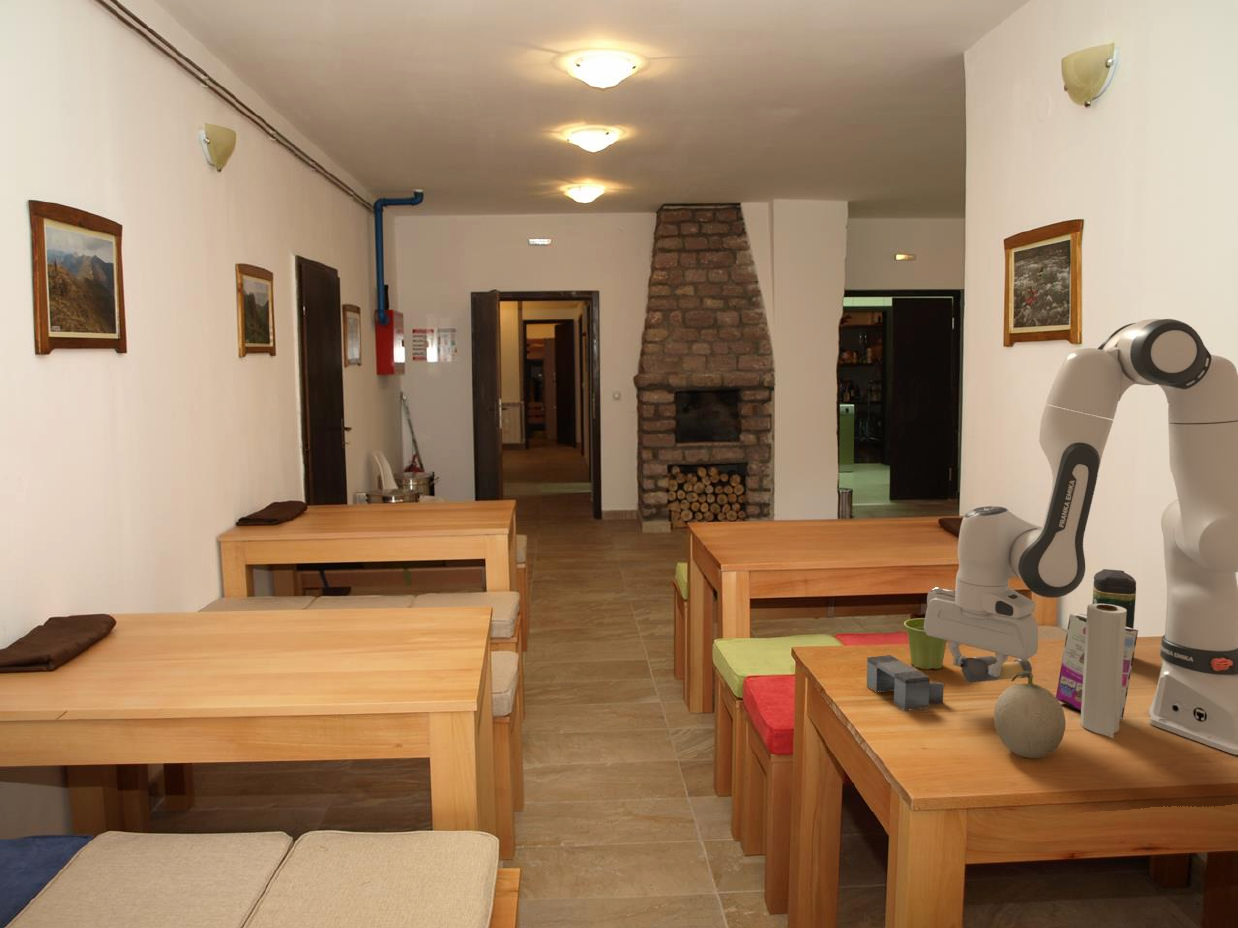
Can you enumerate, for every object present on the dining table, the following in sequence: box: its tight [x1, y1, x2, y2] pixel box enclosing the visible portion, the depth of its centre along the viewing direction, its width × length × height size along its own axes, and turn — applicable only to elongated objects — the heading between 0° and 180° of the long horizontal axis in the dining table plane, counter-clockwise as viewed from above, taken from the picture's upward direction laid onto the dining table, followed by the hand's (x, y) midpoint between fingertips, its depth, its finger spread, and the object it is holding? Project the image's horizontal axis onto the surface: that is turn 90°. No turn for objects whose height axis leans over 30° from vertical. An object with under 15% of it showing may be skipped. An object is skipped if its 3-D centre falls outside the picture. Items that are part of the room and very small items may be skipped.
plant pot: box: [903, 617, 948, 670], centre depth 197 cm, size 9×9×9 cm
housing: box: [866, 654, 945, 711], centre depth 180 cm, size 13×9×6 cm
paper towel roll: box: [1080, 603, 1127, 739], centre depth 164 cm, size 7×6×21 cm
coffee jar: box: [1091, 568, 1137, 629], centre depth 201 cm, size 10×8×19 cm
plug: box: [961, 655, 1033, 683], centre depth 175 cm, size 12×4×4 cm, turn 107°
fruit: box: [993, 671, 1066, 759], centre depth 154 cm, size 10×12×15 cm
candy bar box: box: [1055, 613, 1139, 721], centre depth 172 cm, size 11×5×16 cm, turn 20°
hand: (976, 670), depth 174 cm, fingers closed on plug, 5 cm apart
